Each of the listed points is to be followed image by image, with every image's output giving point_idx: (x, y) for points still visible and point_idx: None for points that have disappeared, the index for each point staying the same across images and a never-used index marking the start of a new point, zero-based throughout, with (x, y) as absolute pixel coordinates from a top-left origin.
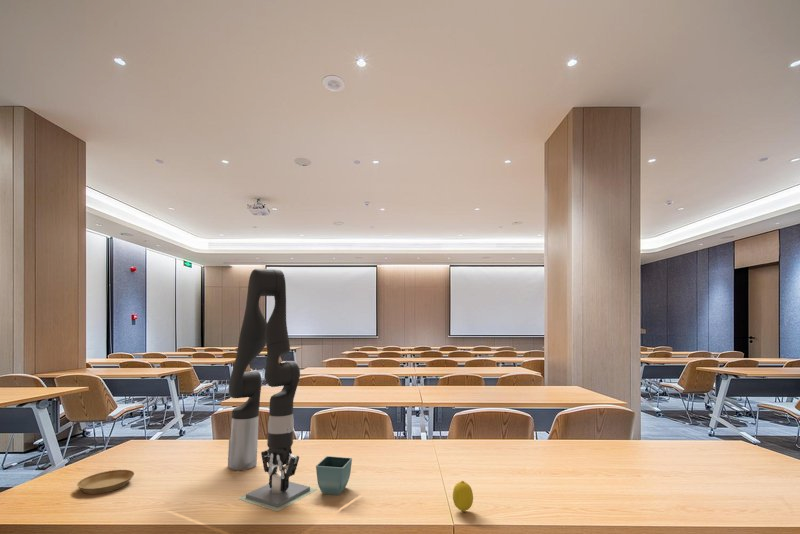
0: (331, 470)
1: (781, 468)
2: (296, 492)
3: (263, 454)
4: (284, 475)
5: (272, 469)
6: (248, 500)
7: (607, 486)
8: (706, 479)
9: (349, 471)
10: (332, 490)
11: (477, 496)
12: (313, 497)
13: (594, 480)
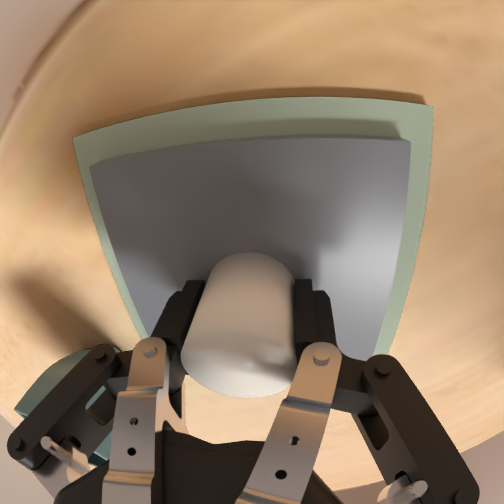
0: (34, 406)
1: (10, 423)
2: (148, 310)
3: (446, 496)
4: (133, 358)
5: (289, 394)
6: (351, 115)
7: (6, 405)
8: (4, 413)
9: None
10: (76, 357)
11: (8, 383)
12: (120, 322)
13: (17, 414)
